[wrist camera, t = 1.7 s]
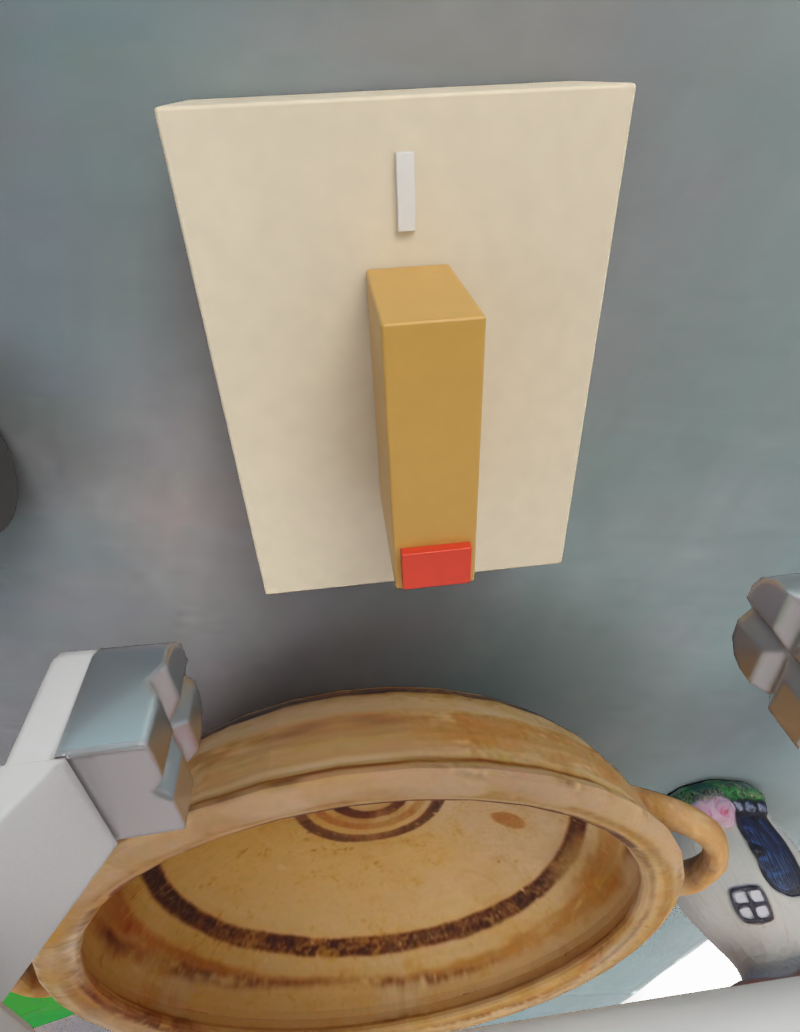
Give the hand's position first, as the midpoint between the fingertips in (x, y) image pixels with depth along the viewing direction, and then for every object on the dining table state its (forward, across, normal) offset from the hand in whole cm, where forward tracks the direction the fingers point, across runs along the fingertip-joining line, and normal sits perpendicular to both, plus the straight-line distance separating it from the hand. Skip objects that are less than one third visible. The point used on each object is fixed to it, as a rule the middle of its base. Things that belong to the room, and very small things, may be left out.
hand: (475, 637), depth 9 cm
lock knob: (+8, 0, 0) cm, 8 cm away
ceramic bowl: (+12, +2, +21) cm, 24 cm away
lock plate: (+11, 0, 0) cm, 11 cm away
